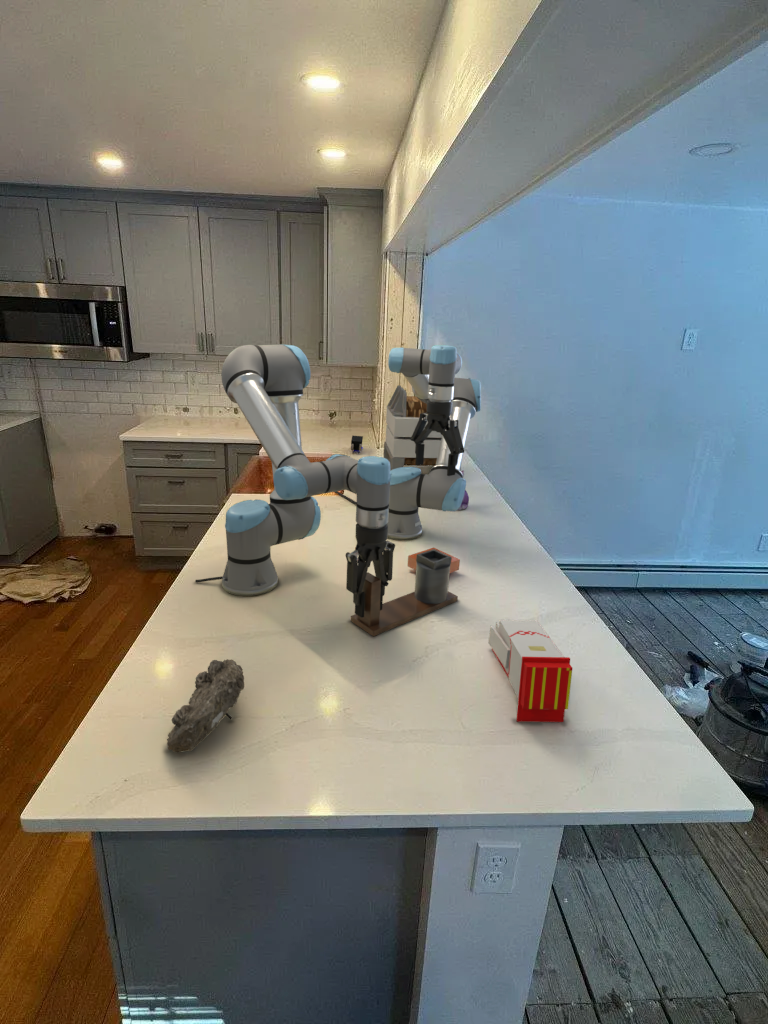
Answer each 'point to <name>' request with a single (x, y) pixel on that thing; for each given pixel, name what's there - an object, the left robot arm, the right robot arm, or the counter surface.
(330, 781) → the counter surface
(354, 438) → the figurine character
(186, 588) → the counter surface
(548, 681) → the toy
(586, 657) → the counter surface
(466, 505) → the figurine
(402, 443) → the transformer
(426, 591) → the caddy
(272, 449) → the left robot arm
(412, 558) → the orange square block
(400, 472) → the right robot arm
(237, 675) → the fossil
